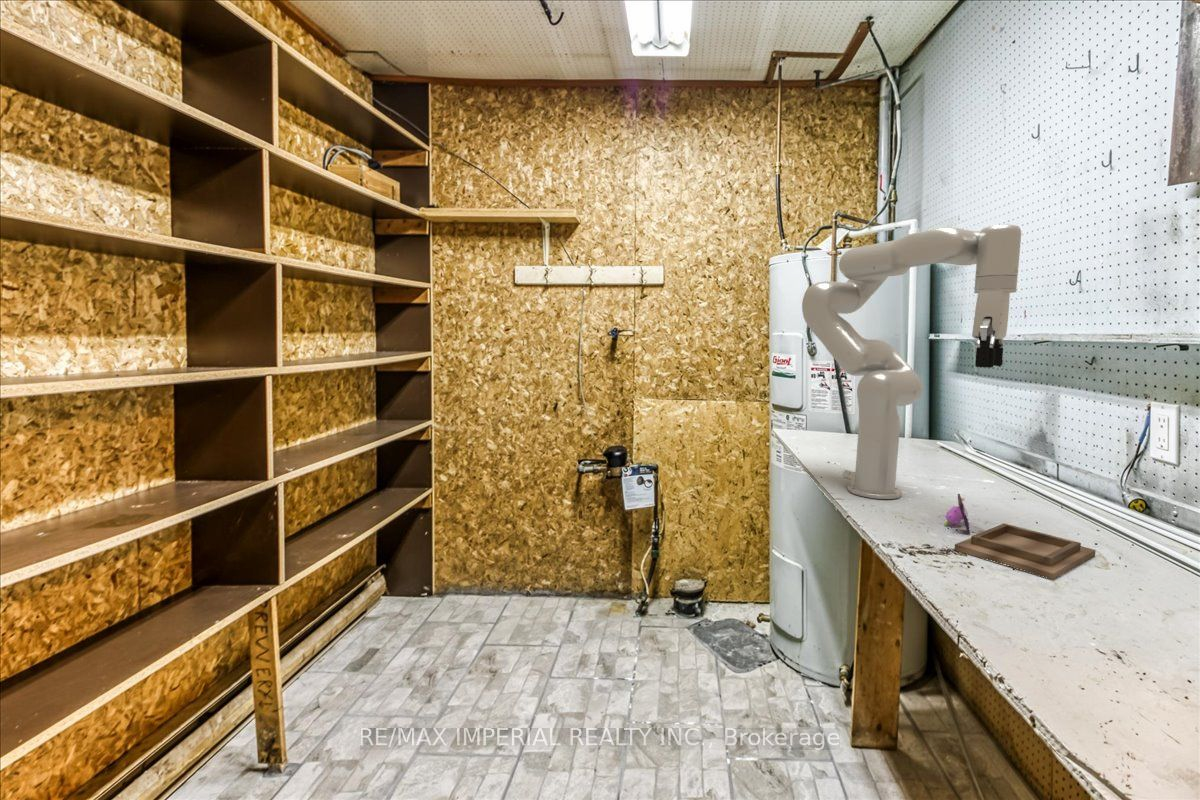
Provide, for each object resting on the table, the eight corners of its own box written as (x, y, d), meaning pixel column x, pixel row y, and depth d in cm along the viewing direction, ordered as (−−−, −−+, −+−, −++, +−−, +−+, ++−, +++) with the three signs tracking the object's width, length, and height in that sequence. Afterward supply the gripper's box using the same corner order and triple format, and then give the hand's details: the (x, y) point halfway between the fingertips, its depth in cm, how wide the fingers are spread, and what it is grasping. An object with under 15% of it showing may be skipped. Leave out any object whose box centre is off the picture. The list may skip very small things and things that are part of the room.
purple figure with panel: (964, 503, 123) (963, 492, 131) (936, 507, 126) (937, 497, 134) (974, 534, 123) (972, 522, 131) (946, 538, 126) (946, 526, 134)
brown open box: (954, 550, 115) (955, 536, 115) (1000, 531, 126) (1002, 518, 126) (1052, 580, 102) (1054, 565, 102) (1094, 556, 113) (1096, 542, 113)
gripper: (983, 288, 136) (976, 364, 138) (965, 284, 123) (959, 367, 125) (1023, 287, 131) (1016, 365, 133) (1009, 282, 118) (1002, 368, 120)
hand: (988, 366), depth 129 cm, fingers open, 9 cm apart
